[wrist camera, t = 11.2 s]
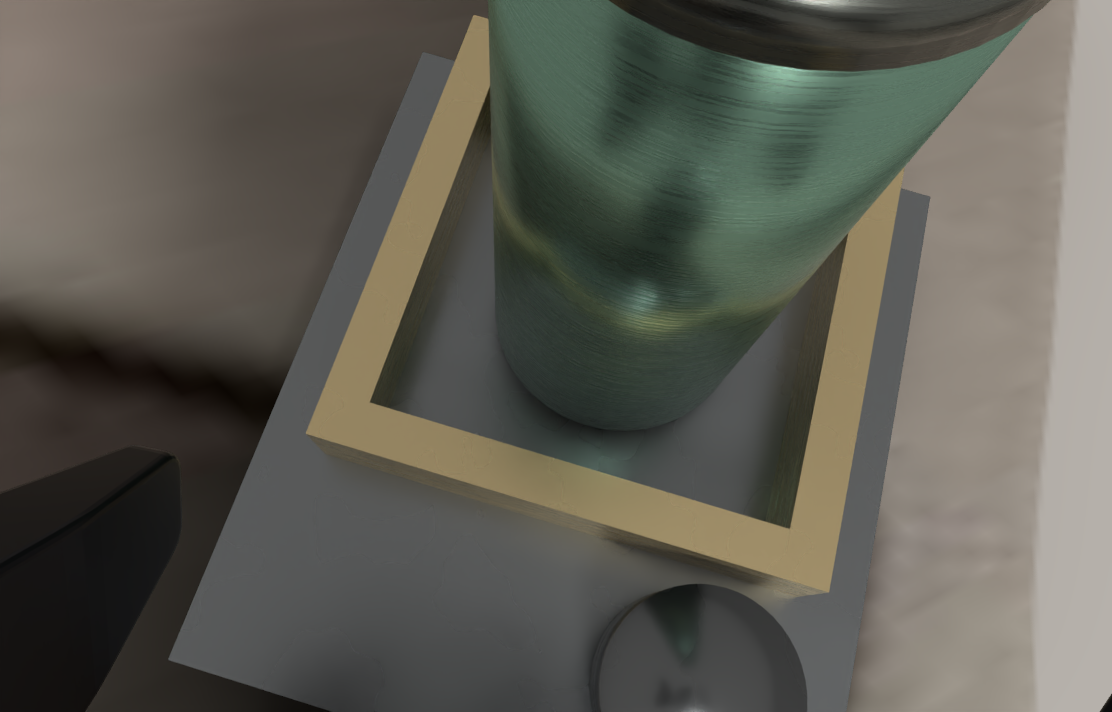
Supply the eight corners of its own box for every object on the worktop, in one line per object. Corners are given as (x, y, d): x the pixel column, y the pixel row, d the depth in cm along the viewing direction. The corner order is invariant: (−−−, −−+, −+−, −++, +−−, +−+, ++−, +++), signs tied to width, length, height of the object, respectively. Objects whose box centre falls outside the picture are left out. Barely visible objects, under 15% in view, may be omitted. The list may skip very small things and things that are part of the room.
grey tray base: (781, 837, 19) (860, 893, 15) (208, 657, 20) (127, 662, 16) (888, 239, 25) (970, 155, 20) (430, 106, 25) (415, -2, 21)
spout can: (724, 456, 20) (1187, 75, 6) (467, 403, 20) (394, -86, 6) (770, 115, 23) (1147, -623, 9) (548, 70, 23) (610, -728, 9)
